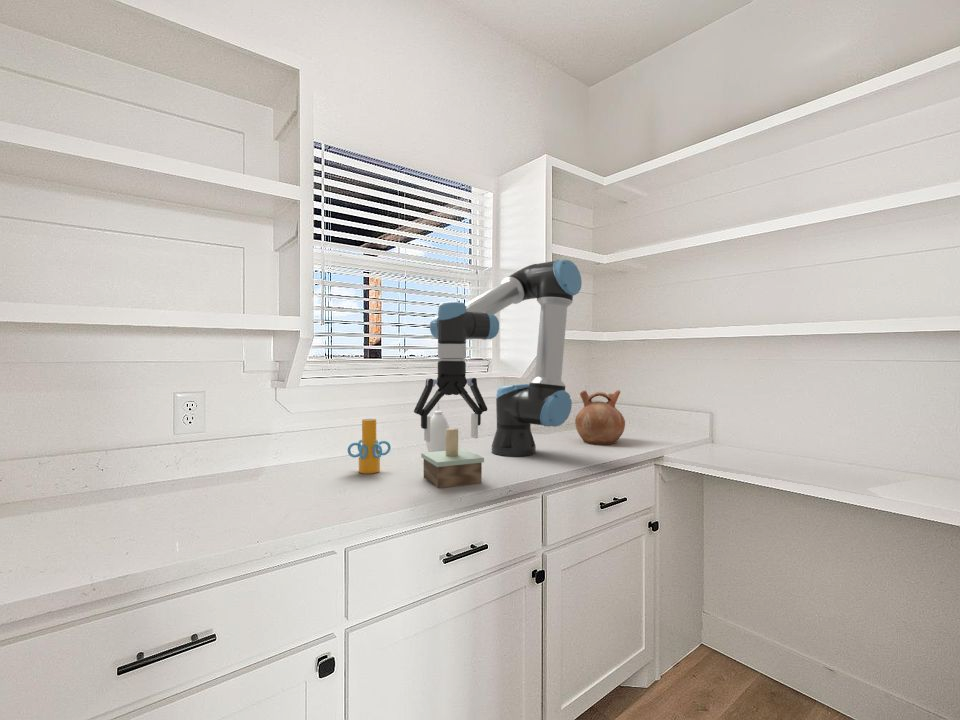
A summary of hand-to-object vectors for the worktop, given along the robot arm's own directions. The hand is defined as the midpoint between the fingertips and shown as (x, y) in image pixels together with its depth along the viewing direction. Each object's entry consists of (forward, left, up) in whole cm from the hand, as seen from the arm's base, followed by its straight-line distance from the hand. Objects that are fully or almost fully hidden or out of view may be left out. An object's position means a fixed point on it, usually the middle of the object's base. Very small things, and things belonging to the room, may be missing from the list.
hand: (451, 439), depth 135 cm
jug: (-72, -29, -11) cm, 79 cm away
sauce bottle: (-6, -27, -11) cm, 30 cm away
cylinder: (+18, -19, -11) cm, 28 cm away
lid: (0, 0, -6) cm, 6 cm away
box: (0, 0, -11) cm, 11 cm away
